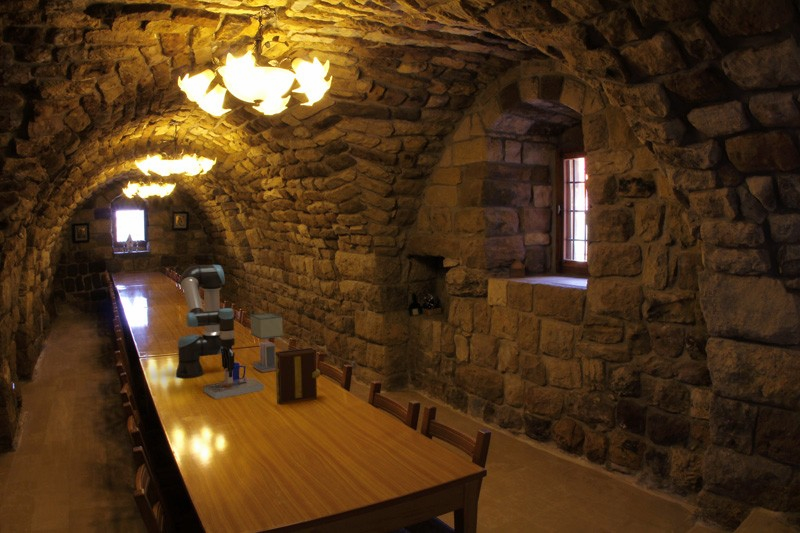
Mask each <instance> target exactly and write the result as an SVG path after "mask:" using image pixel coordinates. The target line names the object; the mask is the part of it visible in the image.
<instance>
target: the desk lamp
mask: <svg viewBox="0 0 800 533" xmlns="http://www.w3.org/2000/svg"><path fill="white" fill-rule="evenodd" d="M249 316H250V334H251V335H252V336H253V337H255V338H257V339H260V340H265V341H261V342H259V343H258V344H259V362H256V363H255V362H254V363H251V365H252V366H254V369H256V370H258V371H259V372H261V373H267V372H273V371H275V372H276V359H275V352H276V344H275V343H274V342H272V341H271V342H270V340H269V339H274V338H283V337H284V334H283V333H284V332H283V330H284V329H283V326H284V325H283V316H282V315H280V314H278V313H274V312H266V313H256V314H255V313H254V314H250V315H249Z"/></svg>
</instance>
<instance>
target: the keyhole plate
mask: <svg viewBox="0 0 800 533" xmlns="http://www.w3.org/2000/svg"><path fill="white" fill-rule="evenodd" d="M264 390H265V389H264V383H263V382H261V381H259V380H257V379H255V378H252V377H250V376H249V377H244V378H243V379H238V380H233V383H231V387H228V388H226V382H225V381H222V382H217V383H210V384H206V385H203V392H204V393H205V394H206V395H208V396H210V398H213V399H215V400H218V399H219V400H220V399H224V398H230V397H235V396H239V395H245V394H249V393H254V392H261V391H264Z"/></svg>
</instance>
